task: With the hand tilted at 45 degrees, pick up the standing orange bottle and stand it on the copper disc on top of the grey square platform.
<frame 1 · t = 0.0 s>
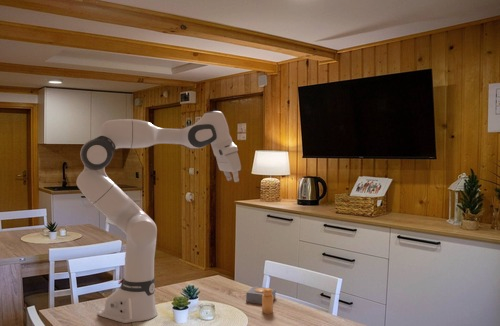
hand: (233, 181, 184), 52 cm above the table, tool tilted 20°, fingers open, 8 cm apart
orange bottle: (267, 311, 178), on the table
grey square platform: (261, 299, 193), on the table
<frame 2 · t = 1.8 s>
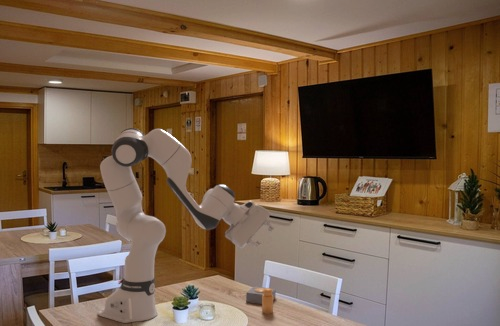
hand: (266, 237, 174), 30 cm above the table, tool tilted 60°, fingers open, 8 cm apart
nothing on the table moved.
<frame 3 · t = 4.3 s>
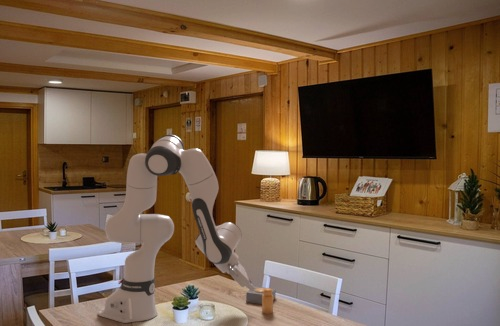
hand: (252, 286, 176), 11 cm above the table, tool tilted 45°, fingers open, 8 cm apart
nothing on the table moved.
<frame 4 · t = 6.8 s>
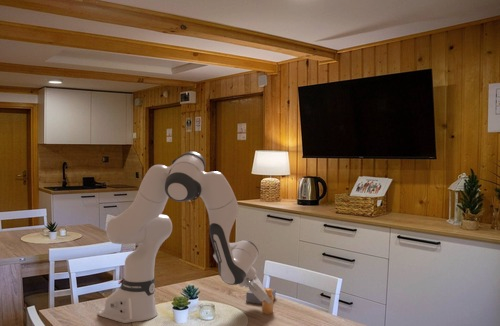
hand: (269, 299, 178), 5 cm above the table, tool tilted 45°, fingers closed on orange bottle, 4 cm apart
orange bottle: (267, 311, 178), on the table, touching gripper
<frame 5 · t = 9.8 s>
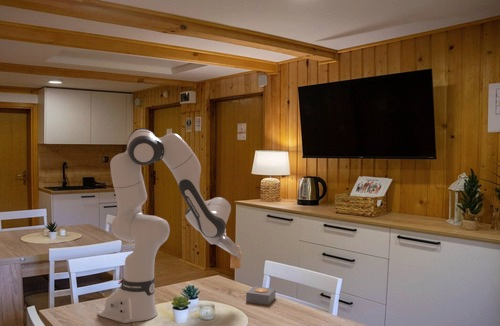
hand: (237, 255, 188), 20 cm above the table, tool tilted 45°, fingers closed on orange bottle, 4 cm apart
orange bottle: (235, 267, 188), point 15 cm above the table, touching gripper
when the fingers open (10 cm above the table, at t = 13.0 s): orange bottle stays where it is, resting on grey square platform.
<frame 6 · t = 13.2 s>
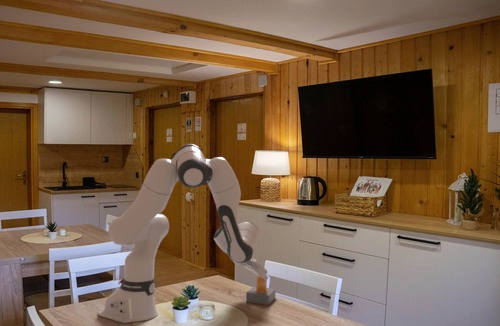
hand: (262, 276, 193), 10 cm above the table, tool tilted 45°, fingers open, 6 cm apart
orange bottle: (261, 290, 193), point 4 cm above the table, touching grey square platform
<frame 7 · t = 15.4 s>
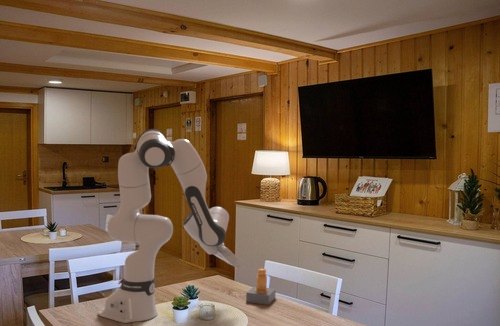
hand: (234, 265, 188), 16 cm above the table, tool tilted 45°, fingers open, 8 cm apart
nothing on the table moved.
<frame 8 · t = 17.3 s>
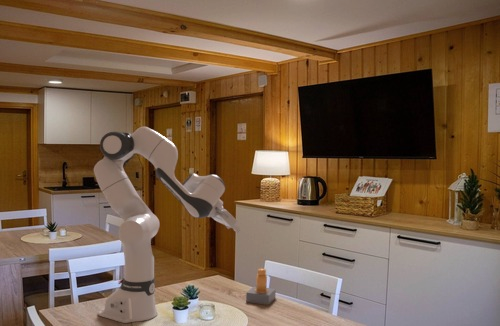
hand: (234, 229, 187), 31 cm above the table, tool tilted 45°, fingers open, 8 cm apart
nothing on the table moved.
at the end: orange bottle inside the target area on the grey square platform (0.0 cm from its centre), point 4.2 cm above the grey square platform's base; orange bottle tilted 0°; the gripper is holding nothing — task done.
